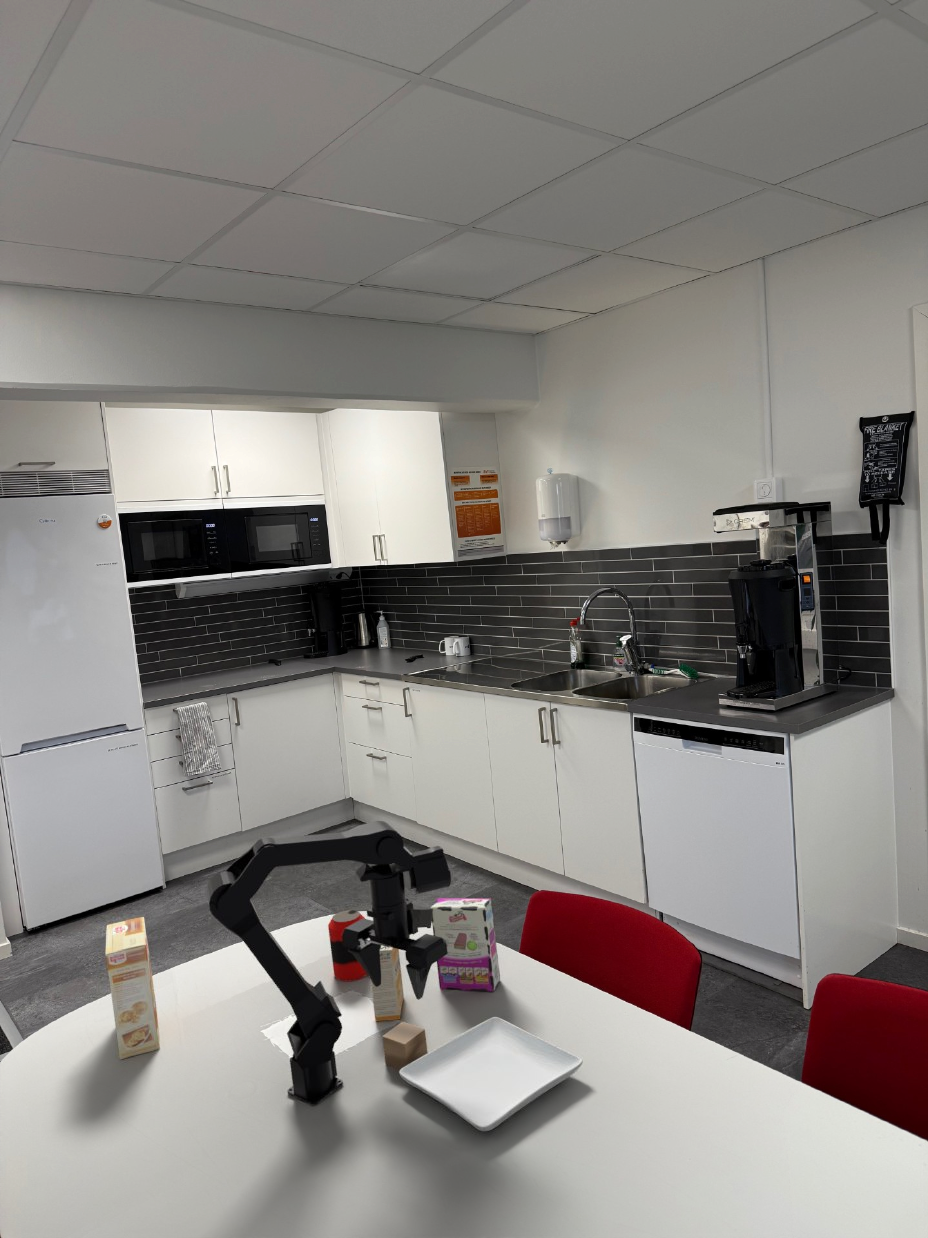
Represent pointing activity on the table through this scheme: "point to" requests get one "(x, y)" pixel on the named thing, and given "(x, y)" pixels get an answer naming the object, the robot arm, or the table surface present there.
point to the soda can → (341, 957)
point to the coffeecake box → (132, 987)
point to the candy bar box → (466, 944)
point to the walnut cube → (404, 1045)
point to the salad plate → (490, 1072)
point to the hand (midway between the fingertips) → (398, 992)
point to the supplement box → (388, 986)
